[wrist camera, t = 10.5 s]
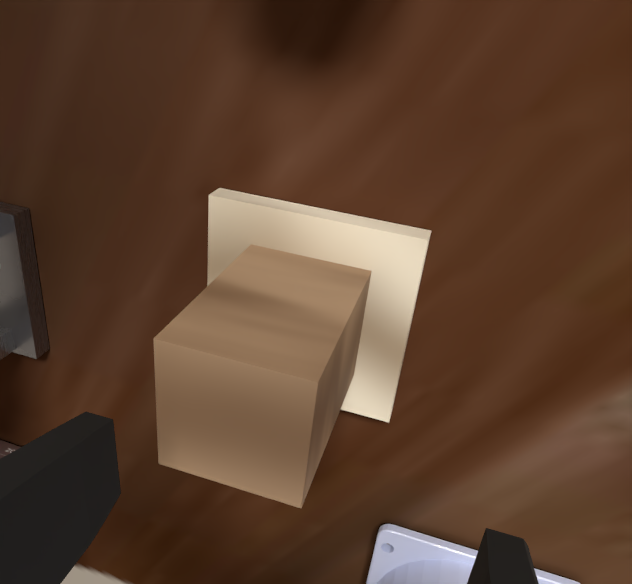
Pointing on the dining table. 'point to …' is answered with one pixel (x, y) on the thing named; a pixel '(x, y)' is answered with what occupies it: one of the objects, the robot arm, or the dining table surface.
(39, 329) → the mounted unit
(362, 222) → the birch pad
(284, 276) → the walnut block
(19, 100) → the dining table surface
